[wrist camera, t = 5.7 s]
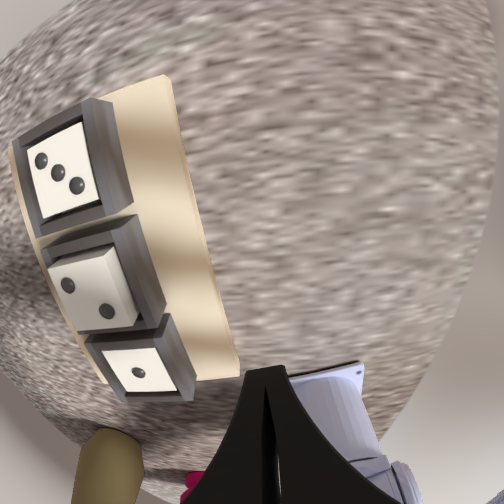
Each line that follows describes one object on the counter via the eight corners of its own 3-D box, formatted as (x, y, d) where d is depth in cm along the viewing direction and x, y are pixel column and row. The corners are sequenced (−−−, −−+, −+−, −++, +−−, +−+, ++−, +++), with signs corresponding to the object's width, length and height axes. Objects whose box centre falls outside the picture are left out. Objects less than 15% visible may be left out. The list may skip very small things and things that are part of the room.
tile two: (143, 305, 15) (131, 327, 13) (89, 312, 15) (75, 332, 13) (119, 240, 14) (102, 257, 12) (65, 254, 14) (45, 270, 12)
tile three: (114, 191, 14) (97, 199, 12) (61, 209, 14) (41, 219, 12) (99, 122, 12) (79, 121, 10) (47, 147, 12) (25, 150, 10)
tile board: (239, 362, 21) (239, 401, 17) (108, 372, 21) (94, 404, 18) (170, 79, 13) (149, 62, 10) (20, 145, 14) (-17, 152, 10)
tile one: (181, 370, 19) (176, 392, 17) (133, 373, 19) (126, 393, 17) (161, 327, 17) (154, 349, 15) (111, 332, 17) (100, 352, 15)
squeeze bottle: (77, 421, 25) (38, 534, 8) (122, 420, 24) (88, 559, 8) (116, 453, 28) (93, 556, 11) (162, 453, 27) (146, 574, 11)
